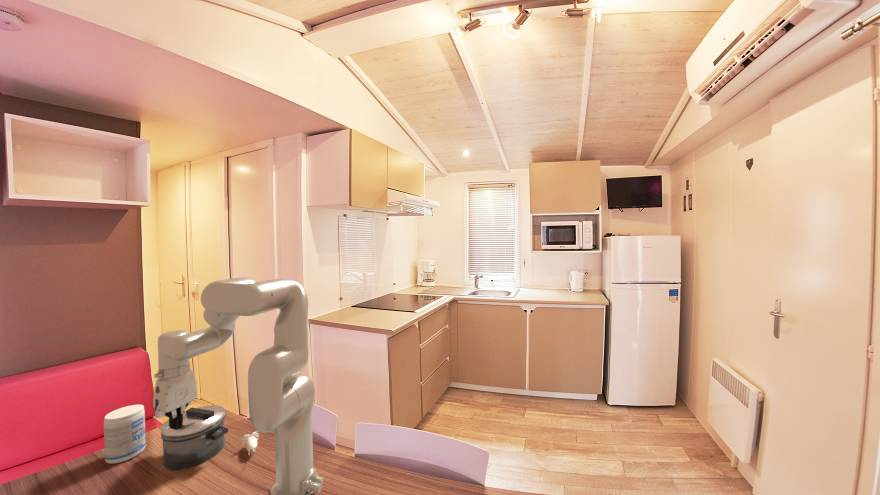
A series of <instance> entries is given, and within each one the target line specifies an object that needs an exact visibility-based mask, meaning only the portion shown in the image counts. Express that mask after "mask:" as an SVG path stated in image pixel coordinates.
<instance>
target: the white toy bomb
mask: <svg viewBox="0 0 880 495" xmlns="http://www.w3.org/2000/svg"><path fill="white" fill-rule="evenodd" d="M243 436H244V437H242V438H241V440H243V441H241V443H242V444H241V445H242V446H243V445H245V444H246V447H247V448H246V449H247V450H246V451H248V452H247V453H248V456H251V453H250V452H251V451H252V452H254V454H256V453H257V446H258V441H259V440H260V439H259V437H260V432H259V431H258V430H256V431H253V432H252V433H250V434H249V433H248V434H243Z"/></svg>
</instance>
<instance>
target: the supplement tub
mask: <svg viewBox="0 0 880 495" xmlns="http://www.w3.org/2000/svg"><path fill="white" fill-rule="evenodd" d="M145 413H146V412H145V406H144V405H143V404H133V405H127V406H123V407H120V408H117V409H115V410H113V411H110V412H108V413H107V414H106V415H105V416H104V417H103V418H104V421H103V438H104V439H103V440H104V460H105V462H106V463H107V464H110V465H115V464H118V463H123V462H126V461H128V460H131V459H133V458H135V457H136V456H138V455H139V454H141V453H142V452H143V451H145V448H146V442H147V441H146V419H145V418H146V414H145Z"/></svg>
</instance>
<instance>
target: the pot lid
mask: <svg viewBox="0 0 880 495" xmlns="http://www.w3.org/2000/svg"><path fill="white" fill-rule="evenodd" d="M225 410H226V409H225V408H224V407H223V406H220V405H213V404H212V405H203V406H198V407H190V408H188V409H185V413H184V414H183V426H182V427H181V428H179V429H177V430H175V429H170V427H169V419H167V420H166V421H165V422H163V424H162V425H161V427H160V428H161V429H160V431H161V432H160V435H161V434H162V436H164V437H167V438H180V437H186V436H190V435H193V434H197V433H199V432H202V431H205V430H207V429H209V428H211V427H213V426H214V425H216V424H218V423H219V422H220V421H221V420H222V419H223V418H224V416H225Z"/></svg>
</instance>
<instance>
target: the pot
mask: <svg viewBox="0 0 880 495" xmlns="http://www.w3.org/2000/svg"><path fill="white" fill-rule="evenodd" d="M226 417H227V409H225V416H224V418H223V419H222V420H221V421H220V422H219V423H218V424H216V425H214V426H213V427H211V428H209V429H207V430H205V431H202V432H199V433H197V434H193V435H190V436H186V437H180V438H167V437H164V436H162V434H161V433H160V439H161V440H162V458H163V460H162V462H163V463H162V464H163V467H164V469H166V470H170V471H180V470H186V469H190V468H193V467H196V466H199V465H201V464H204V463H205V462H208V461H209V460H211V459H212V458H214V457H215V456H216V455H219V453H220V452H221V451H222V450H223V448H224V447H225V445H226V444H225V443H226V442H225V436H226V434H228V433H229V427H225V419H226Z"/></svg>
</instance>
